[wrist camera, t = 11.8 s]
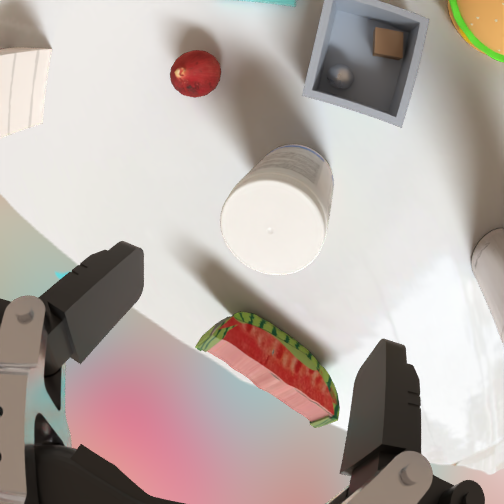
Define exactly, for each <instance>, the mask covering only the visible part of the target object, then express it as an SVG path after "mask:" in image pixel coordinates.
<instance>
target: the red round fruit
mask: <svg viewBox="0 0 504 504" xmlns="http://www.w3.org/2000/svg"><path fill="white" fill-rule="evenodd" d="M220 75H221V69H220V64H219V62H218V61H217V60H216V58H215V57H214V56H213V55H211V54H209V53H208V52H206V51H199V50H194V51H190V52H187V53H184V54H183V55H181V56H180V57H179V58H178V59H176V61H175V62H174V64H173V66H172V67H171V72H170V78H171V82H172V84H173V86H174V88H175V89H176V90H177V91H179V92H180V93H181V94H183V95H186V96H190V97H200V96H205V95H207V94H208V93H210V92H211V91H212V90H214V89H215V88H216V86H217V84H218V82H219V81H220Z"/></svg>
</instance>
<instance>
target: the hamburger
mask: <svg viewBox="0 0 504 504" xmlns="http://www.w3.org/2000/svg"><path fill="white" fill-rule="evenodd" d="M448 10H449V15H450V17H451V20H452V22H453V24H454V26H455V28H456V29H457V31H458V32H459V34H460V35H461V36H462V38H463V39H464V40H465V41H466V42H467V43H468V44H469V45H471V46H472V47H473V48H475V49H476V50H478V51H480V52H481V53H484V54H486V55H488V56H490V57H491V58H493V59H495V60H497V61H500V62H504V0H448Z"/></svg>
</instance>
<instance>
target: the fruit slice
mask: <svg viewBox="0 0 504 504" xmlns="http://www.w3.org/2000/svg"><path fill="white" fill-rule="evenodd" d="M195 348H197V349H198V350H200V351H201V350H203V351H205V352H207V351H208V352H209V353H211V354H213V355H214V356H216V357H218V358H219V359H221V360H223V361H224V362H226V363H227V364H228V365H229V366H230V367H231V368H233V369H234V370H236V371H238V372H240V373H241V374H243V375H244V376H246V377H247V378H249V379H250V380H251V381H252V382H253V383H254V384H255V385H256V386H257V387H258V388H260V389H262V390H264V391H266V392H268V393H270V394H272V395H273V396H275V397H276V398H278V399H279V400H281V401H282V402H284V403H285V404H286V405H288V406H289V407H291V408H292V409H293V410H295V411H297V412H298V413H300V414H302V415H303V416H305V417H306V418H307V419H308V420H310V425H312V426H313V427H314V428H317V427H321V426H323V425H326V424H329V423H332V422H335V421H337V420H338V416H339V409H340V407H339V400H338V394H337V391H336V388H335V386H334V384H333V382H332V380H331V377H330V375H329V374H328V373H327V371H326V369H325V368H323V367H322V366H321V365H320V364H319V362H318V361H317V360H316V359H315V357H314V356H313V355H312V354H311V353H310V352H309V351H308V350H307V349H306V348H305V347H304V346H303V345H301V344H300V343H299V342H297V341H296V340H295V339H293V338H292V337H291V336H289V335H288V334H286V333H285V332H283V331H282V330H279V329H278V328H277V327H276V326H274V325H273V324H272V323H270V322H268V321H266V320H264V319H262V318H260V317H259V316H257V315H256V314H253V313H246V312H238V313H236V314H234V315H233V316H231V317H227V318H225V319H223V320H221V321H220V322H218V323H217V324H215V325H214V326H213V327H212V328H211V329H210V330H208V331H207V332H206V333H205V334H204V335H203V336H202V337H201V338H200V340H199V342H198V343H197V345H196V346H195Z"/></svg>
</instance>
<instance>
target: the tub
mask: <svg viewBox="0 0 504 504" xmlns="http://www.w3.org/2000/svg"><path fill="white" fill-rule="evenodd" d="M428 23H429V19H428V18H425V17H423V16H420V15H418V14H415V13H413V12H410V11H408V10H405V9H402V8H399V7H396V6H394V5H391V4H388V3H385V2H381V1H378V0H324V4H323V8H322V12H321V17H320V21H319V25H318V30H317V34H316V38H315V43H314V47H313V51H312V56H311V60H310V64H309V68H308V73H307V77H306V81H305V85H304V89H303V94H302V96H305V97H309V98H313V99H316V100H320V101H324V102H327V103H330V104H334V105H337V106H340V107H344V108H347V109H350V110H353V111H356V112H359V113H362V114H365V115H368V116H371V117H374V118H377V119H379V120H382V121H385V122H388V123H390V124H393V125H395V126H398V127H401V128H402V125H403V122H404V118H405V115H406V111H407V108H408V105H409V101H410V98H411V94H412V90H413V87H414V83H415V79H416V75H417V71H418V67H419V63H420V59H421V55H422V51H423V47H424V42H425V38H426V33H427V28H428ZM375 27H378V28H384V29H389V30H394V31H399V32H403V58H402V59H400V60H394V59H389V58H383V57H378V56H372V54H373V31H374V29H375ZM336 64H343V65H346V66H347V67H349V68H350V69H351V70H352V72H353V75H354V81H353V83H352V85H351V86H350V87H349V88H347V89H337V88H334V87H333V86H332V85H331V84H330V83H329V81H328V79H327V73H328V70H329V69H330V68H331V67H332V66H334V65H336Z"/></svg>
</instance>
